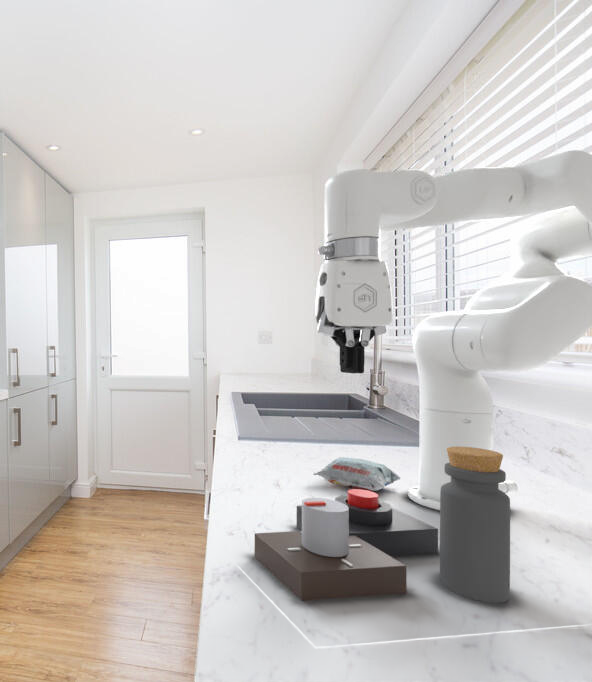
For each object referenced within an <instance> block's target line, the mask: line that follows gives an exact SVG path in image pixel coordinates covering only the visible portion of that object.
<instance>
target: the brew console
mask: <svg viewBox="0 0 592 682" xmlns="http://www.w3.org/2000/svg"><path fill="white" fill-rule="evenodd" d="M254 559H256V560H257V561H258V562H259V563H260V564H261V565H262V566H263V567H264V568H265V569H267V570H268V571H269V572H270V573H271V574H272V575H273V576H274V577H275V578H276V579H278V580H279V582H281V583H282V585H284V586H285V587H286V588H287V589H288V590H289V591H290V592H291V593H292V594H293V595H295V597H297V598H298V600H300V601H301V602H303V601H319V600H329V599H330V600H331V599H347V598H358V597H359V598H360V597H373V596H387V595H401V594H402V595H403V594H407V573H408V571H407V567H408V566H407V565H406V564H404V563H403V562H401V561H399V560H397V559H396V558H395V557H393V556H389V555H387V554H386V553H384V552H382V551H380V550H379V549H377V548H375V547H374V546H372V545H370V544H369V543H367V542H365V541H364V540H362V539H360V538H358V537H357V536H355V535H349V553H348V554H347V555H346V556H343V557H328V556H322V555H319V554H315V553H313V552H310V551H308V550H307V549H305V548H304V547H303V546H302V531H301V530H293V531H276V532H257V533H255V532H254Z"/></svg>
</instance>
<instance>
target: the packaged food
mask: <svg viewBox="0 0 592 682" xmlns="http://www.w3.org/2000/svg"><path fill="white" fill-rule="evenodd" d="M312 475H313V476H318V477H322V478H323V479H324V480H326V481H327V482H329V483H331V484H334V485H338V486H343V487H347V488H349V489H362V490H368V491H371V492H374V491H379V490H381V489H385V487H387V486H389V485H391V484H394V482H396V481H398V480H401V477H400V476H399V475H398V474H397V473H395V472H394V471H393V470H391V469H390V468H389V467H387V466H386V465H385V464H382V463H379V462H375V461H371V460H366V459H362V458H354V457H342V456H341V457H337V458H335V459H334V460H332V461H331V462H330V463H328V464H327V465H325V466H324V468H322V469H321V470H318V471H315V472H313V473H312Z"/></svg>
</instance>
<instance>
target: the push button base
mask: <svg viewBox="0 0 592 682" xmlns="http://www.w3.org/2000/svg"><path fill="white" fill-rule="evenodd" d="M334 500H335V501H338V502H341V503H343V504H345V505H347V506H348V508H349V535H355V536H357V537H358V538H360V539H362V540H364V541H365V542H367V543H369V544H370V545H372V546H374V547H375V548H377V549H379V550H380V551H382V552H384V553H386V554H387V555H389V556H391V557H404V556H406V557H407V556H423V555H437V554H439V528H437V527H435V526H433V525H431V524H428V523H426V522H424V521H421V520H419V519H417V518H416V517H413V516H411V515H409V514H406V513H405V512H402V511H400V510H398V509H395V508H394V507H392V506H391V505H390V503H388V502H385V501H383V500H381V499H379V508H378V509H367V508H360V507H356V506H352V505H350V504H348V494H347V495H339V496H337V497H335V498H334ZM296 528H297V530H298V531H302V505H296Z"/></svg>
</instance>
